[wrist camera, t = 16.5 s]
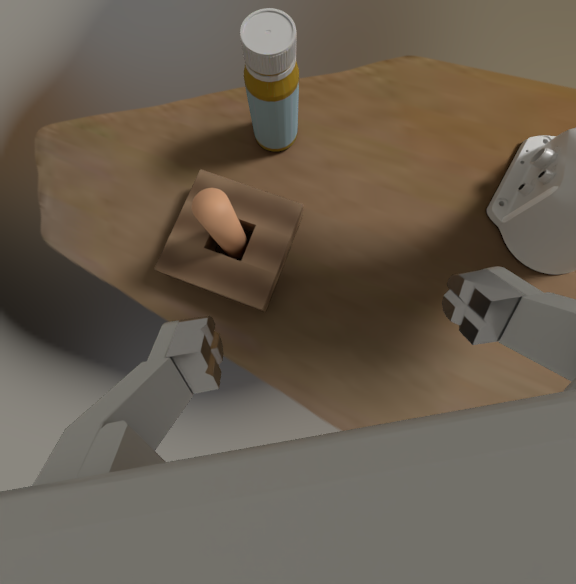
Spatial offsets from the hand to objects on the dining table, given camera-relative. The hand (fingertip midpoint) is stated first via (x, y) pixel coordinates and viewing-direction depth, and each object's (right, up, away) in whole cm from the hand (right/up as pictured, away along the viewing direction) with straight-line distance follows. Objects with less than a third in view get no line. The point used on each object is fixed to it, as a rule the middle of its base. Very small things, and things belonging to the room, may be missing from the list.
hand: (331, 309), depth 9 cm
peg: (-10, +8, +31) cm, 33 cm away
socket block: (-10, +8, +31) cm, 33 cm away
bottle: (-4, +27, +34) cm, 43 cm away
